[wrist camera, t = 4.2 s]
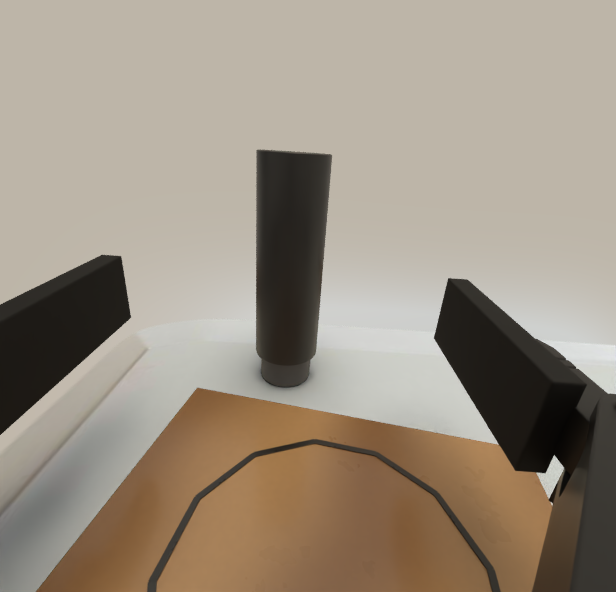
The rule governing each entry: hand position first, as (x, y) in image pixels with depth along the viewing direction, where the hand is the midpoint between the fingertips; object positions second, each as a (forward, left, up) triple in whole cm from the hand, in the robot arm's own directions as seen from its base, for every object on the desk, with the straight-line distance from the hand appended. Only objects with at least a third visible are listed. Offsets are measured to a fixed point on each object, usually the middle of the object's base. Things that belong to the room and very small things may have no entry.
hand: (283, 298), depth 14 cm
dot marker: (-1, +4, -7) cm, 8 cm away
